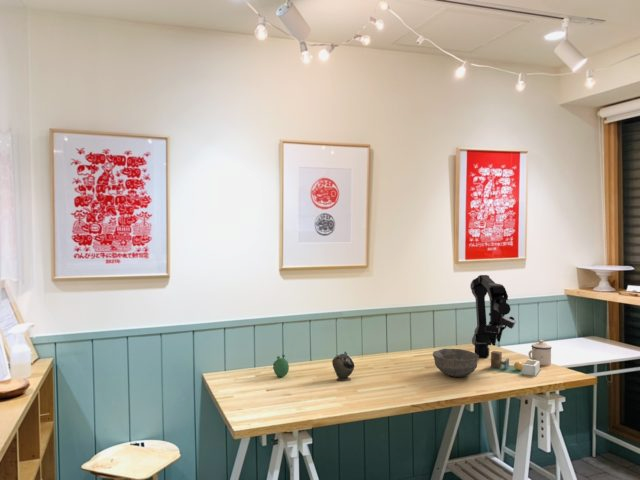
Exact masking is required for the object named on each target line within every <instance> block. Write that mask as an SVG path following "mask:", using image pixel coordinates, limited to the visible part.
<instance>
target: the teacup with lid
mask: <svg viewBox="0 0 640 480" xmlns="http://www.w3.org/2000/svg"><path fill="white" fill-rule="evenodd" d="M528 358H529V360H536V361H540V366H549V365H551V364H552V345H550V344H549V343H546V342H544V339H543V340H542V339H540V340H539V341H537V342H535V343H532V344H531V350H529V351H528Z"/></svg>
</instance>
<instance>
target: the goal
mask: <svg viewBox="0 0 640 480" xmlns="http://www.w3.org/2000/svg"><path fill="white" fill-rule="evenodd" d="M522 364H523V374H527V375H534V376H536V374H537V373H538V372H539V370H541V369H540V367H541V365H540V361H536V360H531V359H526V364H525V363H522ZM539 373H540V372H539ZM536 377H537V376H536Z"/></svg>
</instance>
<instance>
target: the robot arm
mask: <svg viewBox="0 0 640 480" xmlns="http://www.w3.org/2000/svg"><path fill="white" fill-rule="evenodd" d="M470 290H471V293H472V295H473V297H474V298H475V307H476V308H475V310H476V311H475V312H476V328H475V329H474V334H473V335H472V338H471V343H472V345H473V346H474V353H476V354H477V355H479V358H482V359H487V358H488V357H489V356H490V347H489V346H496V342H499V343H500V342H501V339H502V335H503V331H504V330H505V329H506V328H509V329H511V330H512V329H513V328H514V326H515V325H516V320H515V316H512V315H510V316H506V315H508V314H510V312H511V305H510V304H509V303H508V302H507V301H508V300H509V299H508V298H509V295H508V291H507V290H506V288H505V286H504V285H503V284H502V283H501V284H500V283H496V282H494V280H493V279H492V278H490V275H488V274H479V275H478V276H477V277H476V278H474V279H472V281H470ZM487 296H488V297H489V305H490V306H489V313H488V316H489V322H488V324H487V312H486V298H485V297H487Z"/></svg>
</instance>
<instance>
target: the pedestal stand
mask: <svg viewBox="0 0 640 480" xmlns="http://www.w3.org/2000/svg"><path fill="white" fill-rule="evenodd" d="M502 353H503V352H502V351H497V350H493V351H491V352H490V368H491V367H493V368H500V367H501V366H502V365H504V370H506V369H507V368H508V367H509V365H510V358H506V359H504V360H503V359H502V356H503V354H502Z"/></svg>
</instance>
